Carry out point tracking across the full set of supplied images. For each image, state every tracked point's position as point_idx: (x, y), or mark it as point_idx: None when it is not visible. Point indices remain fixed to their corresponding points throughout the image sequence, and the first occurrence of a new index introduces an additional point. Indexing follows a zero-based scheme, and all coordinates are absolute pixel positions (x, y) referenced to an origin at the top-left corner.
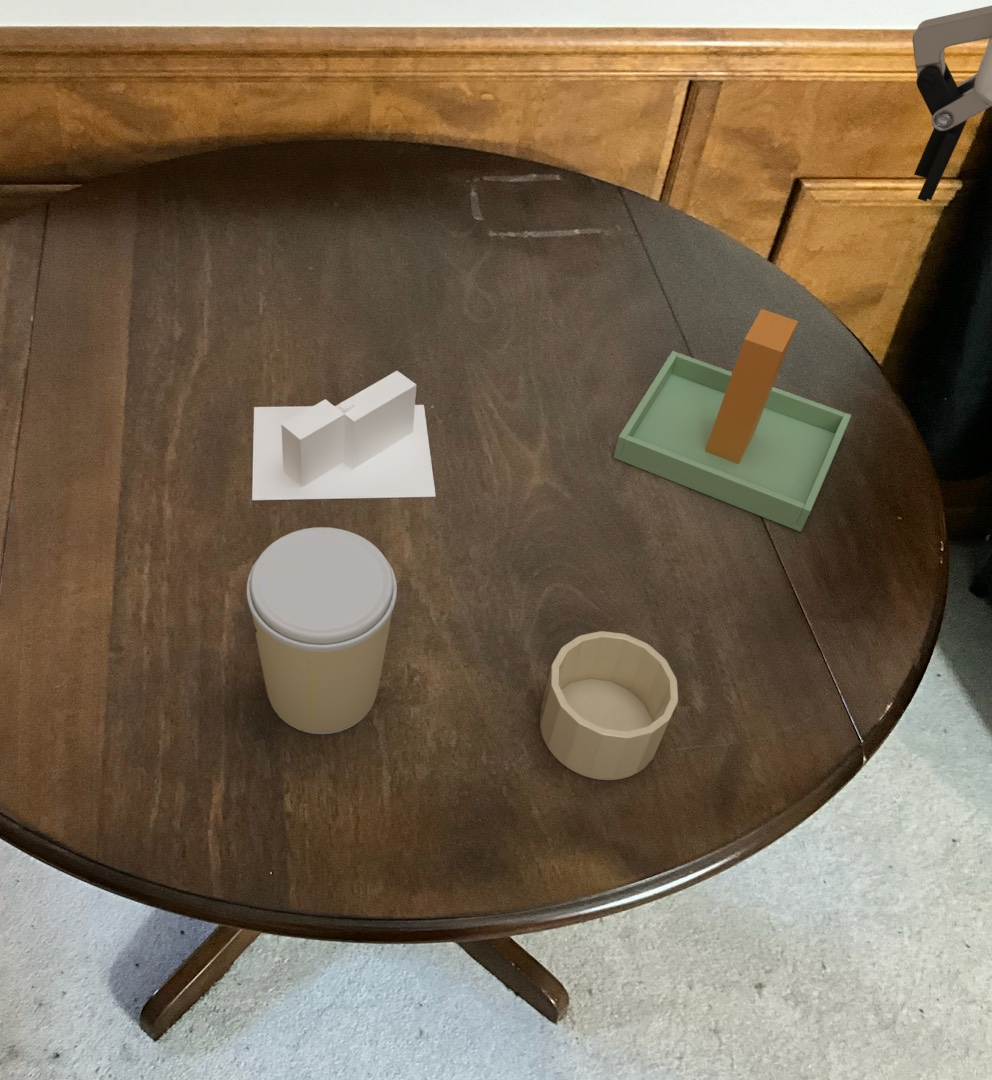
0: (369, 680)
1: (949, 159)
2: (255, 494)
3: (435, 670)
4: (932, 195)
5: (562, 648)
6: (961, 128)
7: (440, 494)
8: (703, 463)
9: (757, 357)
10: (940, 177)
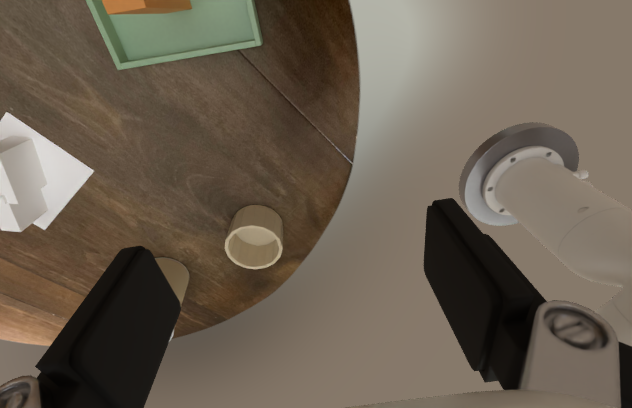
0: (182, 296)
1: (154, 375)
2: (41, 226)
3: (189, 244)
4: (177, 315)
5: (225, 248)
6: (108, 397)
7: (94, 167)
8: (174, 29)
9: (133, 11)
10: (166, 343)
